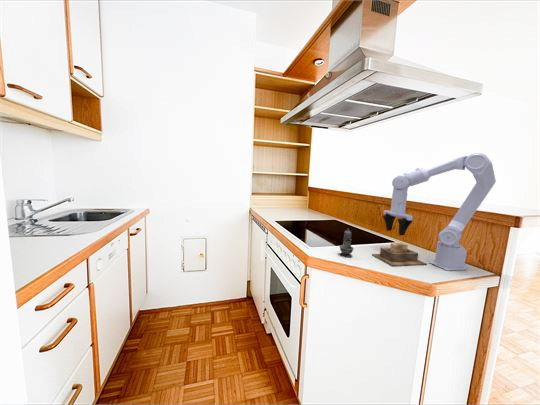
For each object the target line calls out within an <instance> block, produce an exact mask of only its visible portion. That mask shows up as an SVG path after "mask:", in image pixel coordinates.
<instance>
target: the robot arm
mask: <svg viewBox="0 0 540 405" xmlns="http://www.w3.org/2000/svg"><path fill="white" fill-rule="evenodd" d="M454 170H457V171H458V170H459V171H465V170H468V171H469V172H470V173H471V174H472V177H473V178H474V180H475V185H474V186H473V187H472V189H471V190H470V192H469V194H468V195H467V197H466V198H465V199H464V201H463V202H462V203H461V205H460V207H459V209H458V210H457V211H456V213H455V215H453V218H452V219H451V221H450V222H449V223H448V225H447V226H446V227H445V228H443V229H442V230H441V231H439V232H438V236H437V238H438V241H437V243H436V244H437V245H436V249H435V250H436V251H435V258H434V261H433V260H432V261H431V260H430V261H428V263H429V264H431V265H434V266H436V267H438V268H441V269H442V270H445V271H462V270H464V271H465V270H467V267H465V265H466V259H467V250H466V248H465V247H464V246H463V245H462V244H461V243H460V240H461V239H462V237H463V236H462V235H463V233H462V232H463V231H464V229H465V227H466V226H467V225H468V223H469V221H470V220H471V219H472V218H473V216H474V214H475V213H476V212H477V210H478V209H479V207H480V206H481V205H482V203H483V201H484V200H485V199H486V197H487V195H488V194H489V193H490V191H491V190H492V188H494V187H493V186H495V183H496V182H497V180H496V175H495V171H494V167H493V162H492V161H491V160H490V158H489V157H488V156H487V155H486V154H485V153H482V152H474V153H471V154H469V155H463V156H461V157H456V158H455V159H452V160H448V161H446V162H443V163H442V164H441V163H440V164H438V165H436V166H434V167H431V168H428V169H426V168H423V167H421V168H419V167H417V168H415V170H413V171H410V172H408V173H407V172H405V173H403V175H397V176H396V177H394V178H393V179H392V181H391V184H392V196H391V204H390V210H389V209H384V210H383V214H382V218H383V220H384V222H385V228H386V231H390V232H391V231H392V230H393V224H394V221H395V219H396V218H398V219H397V222H398V235H399V236H405V234H406V231H407V229H408V228H409V226H410V225H411V224H412V223H413V217H414V216H413V215H411V214H408V213H406V208H407V199H408V188H410V187H413V186H417V185H420V184H423V183H426V182H428V181H429V180H430V178H431V177H433V176H438V175H440V174H444V173H447V172H450V171H454Z"/></svg>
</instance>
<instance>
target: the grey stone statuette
mask: <svg viewBox="0 0 540 405" xmlns="http://www.w3.org/2000/svg"><path fill="white" fill-rule="evenodd" d="M342 239H343V242H342V244H341V245H339V246H338V247H339V250H340V253H339V256H340V257H343V258H346V259H347V258H353V255H352V253H353V251H354V249H355V248H354V247H353V246H352V245H351V244H352V240H353V239H352V230H350V228H347V229H346V230H344V234H343V237H342Z"/></svg>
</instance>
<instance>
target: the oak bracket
mask: <svg viewBox="0 0 540 405" xmlns="http://www.w3.org/2000/svg"><path fill="white" fill-rule="evenodd" d="M389 248H390V251H392V252H394V253H407V249H408V248H409V245H408V244H407V243H405V242H390V247H389Z"/></svg>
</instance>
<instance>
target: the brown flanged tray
mask: <svg viewBox="0 0 540 405" xmlns="http://www.w3.org/2000/svg"><path fill="white" fill-rule="evenodd" d="M371 256H372V257H373V258H374V257H375V258H376V259H378V260H379V261H381V262H383V263H385V264H387V266H390V267H393V268H395V267H410V266H411V267H412V266H427V263H426V262H424V261H422V260H420V259H418V258H419V253H418V252H416V251H414V250H411V249H409V248H407V253H394V252H392V251H390V247H384V248H383V247H381V248H380V252H379V253H371Z"/></svg>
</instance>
